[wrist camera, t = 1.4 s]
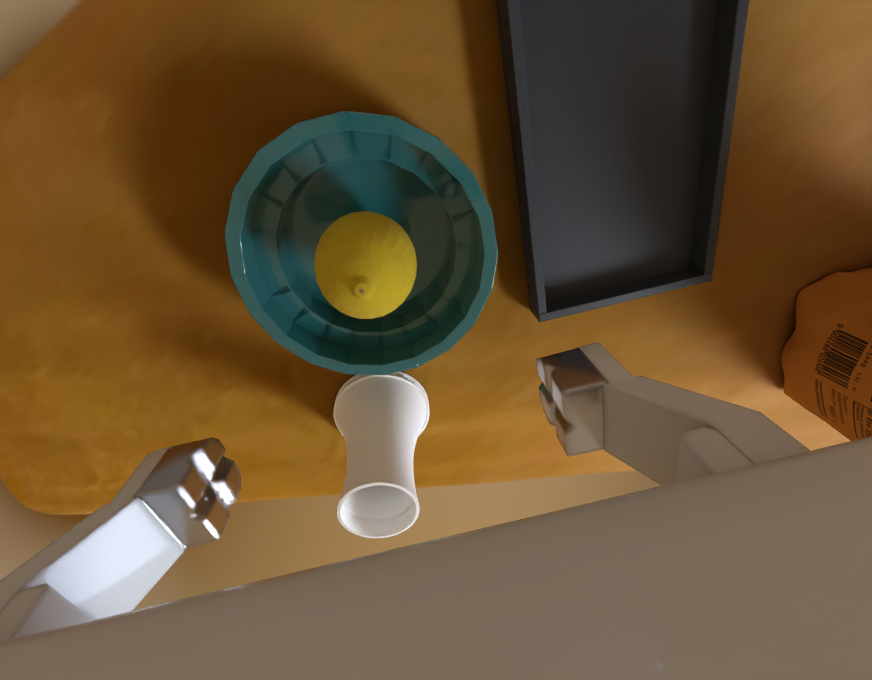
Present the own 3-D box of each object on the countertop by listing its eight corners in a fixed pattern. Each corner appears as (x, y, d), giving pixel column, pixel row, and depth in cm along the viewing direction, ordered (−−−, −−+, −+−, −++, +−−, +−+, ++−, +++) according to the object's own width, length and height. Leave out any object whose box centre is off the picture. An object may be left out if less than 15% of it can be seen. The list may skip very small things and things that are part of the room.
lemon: (310, 219, 24) (276, 257, 17) (394, 186, 24) (394, 211, 17) (349, 297, 27) (334, 358, 20) (425, 269, 26) (437, 320, 19)
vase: (355, 451, 34) (342, 564, 25) (319, 383, 30) (290, 487, 22) (439, 428, 34) (455, 533, 25) (413, 356, 30) (421, 450, 21)
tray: (493, -26, 20) (502, -40, 18) (731, -88, 20) (764, -109, 18) (530, 310, 29) (539, 322, 27) (692, 271, 29) (712, 280, 27)
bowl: (208, 149, 22) (169, 154, 18) (458, 86, 22) (473, 77, 18) (304, 361, 29) (291, 398, 25) (495, 315, 29) (511, 344, 25)
